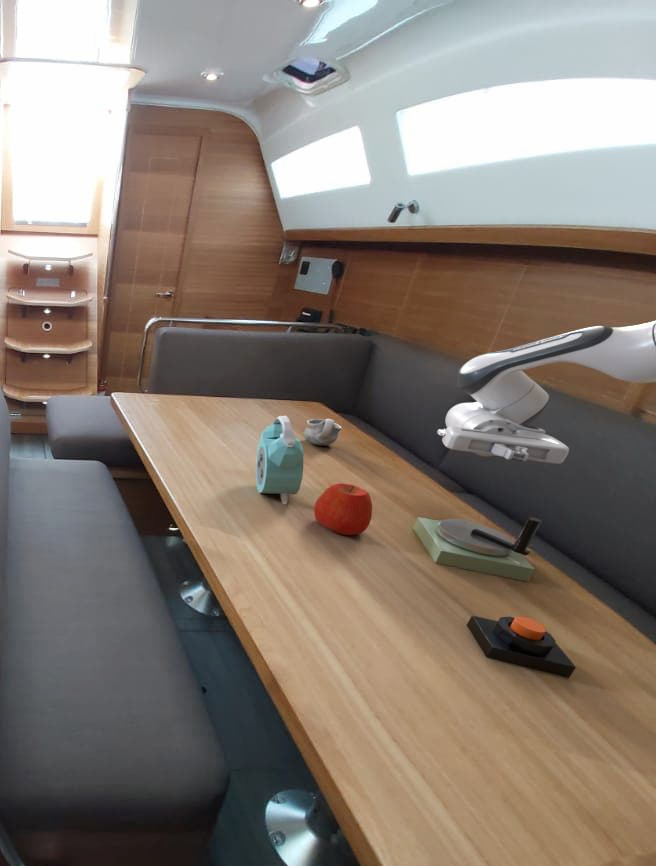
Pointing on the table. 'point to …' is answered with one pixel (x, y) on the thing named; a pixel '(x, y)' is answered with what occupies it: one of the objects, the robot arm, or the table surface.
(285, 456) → the alarm clock
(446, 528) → the wheel
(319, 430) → the grey spouted pot
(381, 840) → the table surface
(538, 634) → the button
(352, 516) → the apple
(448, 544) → the dial plate
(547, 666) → the button box
